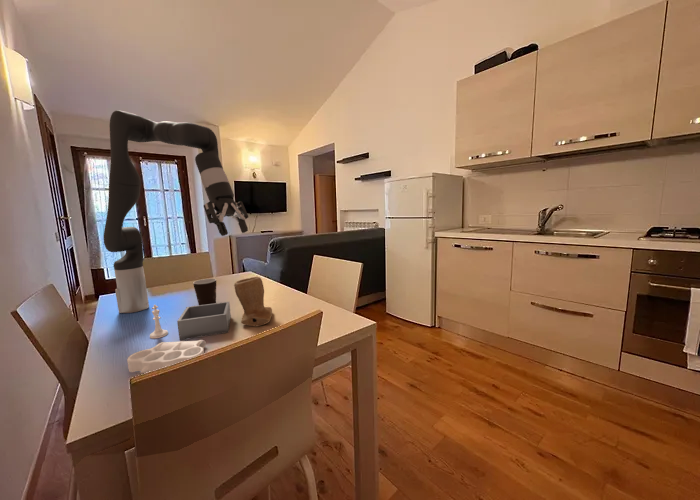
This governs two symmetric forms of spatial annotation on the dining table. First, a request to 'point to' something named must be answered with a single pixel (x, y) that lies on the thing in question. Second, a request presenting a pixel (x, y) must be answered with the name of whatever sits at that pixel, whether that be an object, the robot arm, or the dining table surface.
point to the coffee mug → (205, 291)
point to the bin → (204, 320)
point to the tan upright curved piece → (252, 301)
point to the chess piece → (157, 325)
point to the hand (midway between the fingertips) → (235, 233)
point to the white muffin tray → (164, 355)
